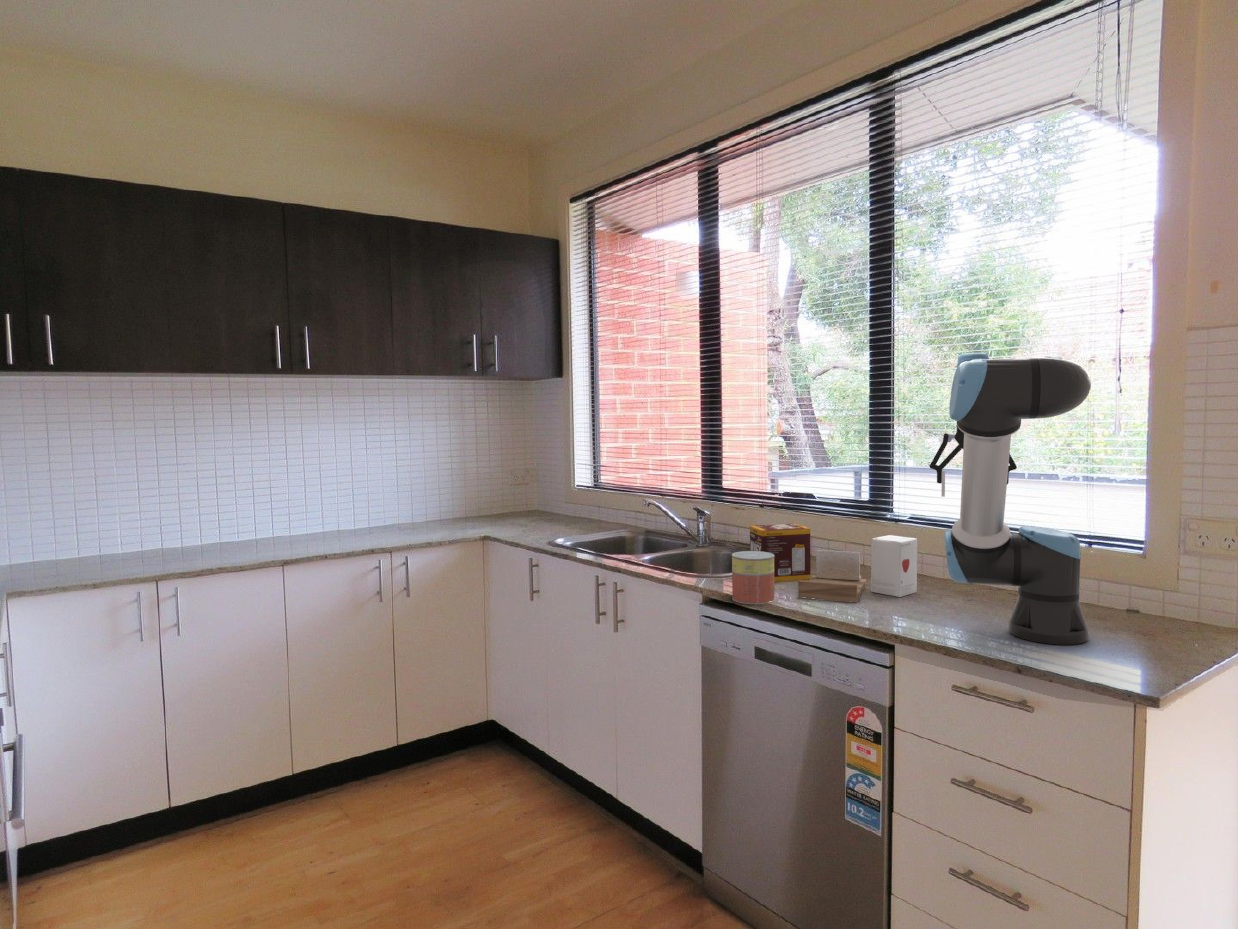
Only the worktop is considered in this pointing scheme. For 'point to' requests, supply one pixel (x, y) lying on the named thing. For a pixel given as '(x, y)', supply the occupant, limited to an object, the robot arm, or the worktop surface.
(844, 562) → the bookend
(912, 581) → the supplement box
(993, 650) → the worktop surface
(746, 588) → the canned food
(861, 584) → the shelf board
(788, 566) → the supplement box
